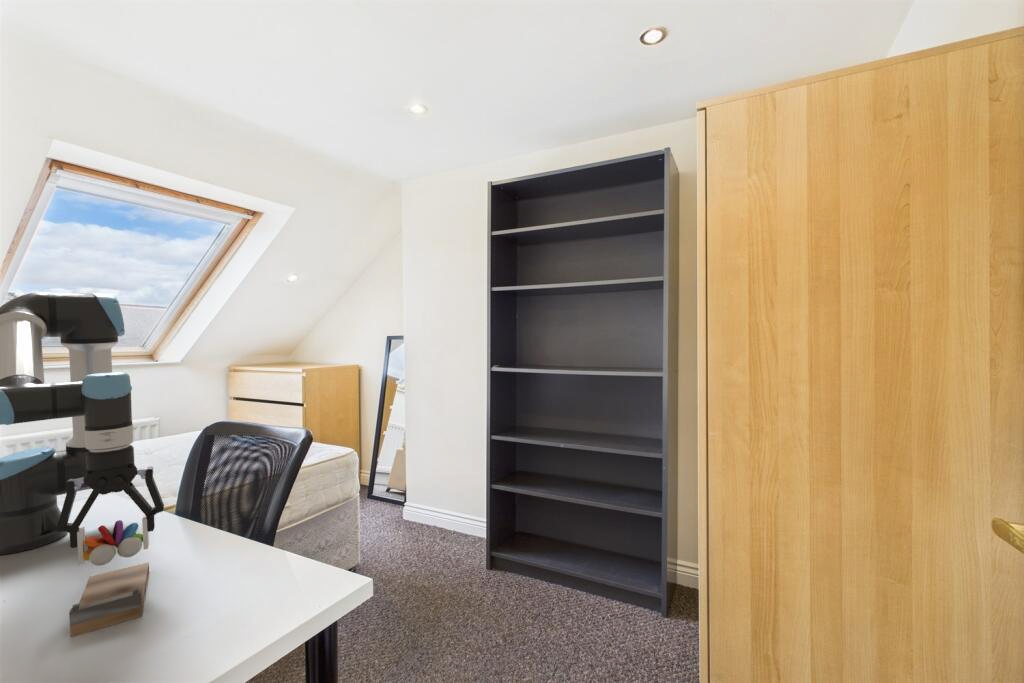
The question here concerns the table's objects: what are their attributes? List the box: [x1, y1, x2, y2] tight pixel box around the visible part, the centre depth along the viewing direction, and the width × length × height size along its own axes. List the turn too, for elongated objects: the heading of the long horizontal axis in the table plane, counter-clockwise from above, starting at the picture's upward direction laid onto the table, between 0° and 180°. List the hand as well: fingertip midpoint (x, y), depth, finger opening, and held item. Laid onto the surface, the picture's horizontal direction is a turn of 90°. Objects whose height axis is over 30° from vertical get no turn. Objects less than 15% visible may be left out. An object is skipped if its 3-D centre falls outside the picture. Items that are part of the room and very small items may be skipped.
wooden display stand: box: [68, 562, 150, 638], centre depth 93 cm, size 20×10×5 cm, turn 35°
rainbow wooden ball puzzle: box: [83, 519, 143, 567], centre depth 96 cm, size 8×10×7 cm
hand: (115, 553), depth 96 cm, fingers closed on rainbow wooden ball puzzle, 9 cm apart
